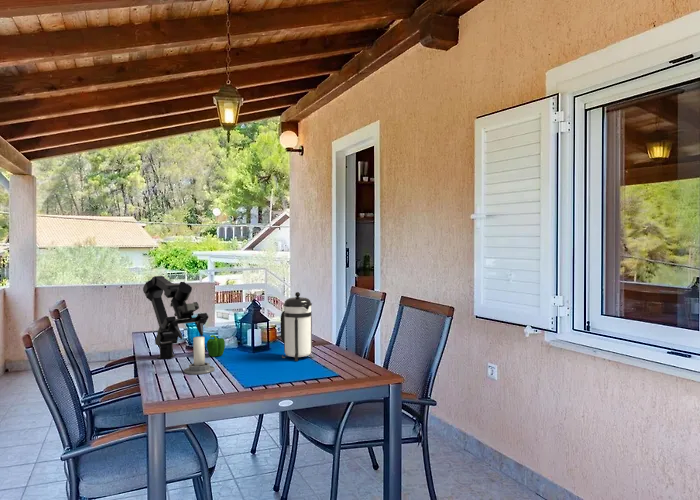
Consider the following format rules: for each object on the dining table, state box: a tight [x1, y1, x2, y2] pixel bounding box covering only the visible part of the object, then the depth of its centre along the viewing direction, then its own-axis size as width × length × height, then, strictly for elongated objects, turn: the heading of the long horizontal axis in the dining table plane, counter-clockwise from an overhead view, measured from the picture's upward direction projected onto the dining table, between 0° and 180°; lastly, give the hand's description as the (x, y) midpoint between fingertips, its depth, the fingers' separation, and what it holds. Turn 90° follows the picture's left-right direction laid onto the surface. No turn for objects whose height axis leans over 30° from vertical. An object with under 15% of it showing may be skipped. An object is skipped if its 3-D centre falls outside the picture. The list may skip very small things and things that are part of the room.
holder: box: [184, 361, 216, 376], centre depth 219 cm, size 12×12×3 cm
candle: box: [192, 336, 206, 367], centre depth 219 cm, size 4×4×13 cm
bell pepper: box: [206, 334, 226, 358], centre depth 247 cm, size 8×8×10 cm
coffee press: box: [280, 291, 316, 362], centre depth 242 cm, size 17×16×30 cm
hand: (192, 336), depth 223 cm, fingers open, 9 cm apart
